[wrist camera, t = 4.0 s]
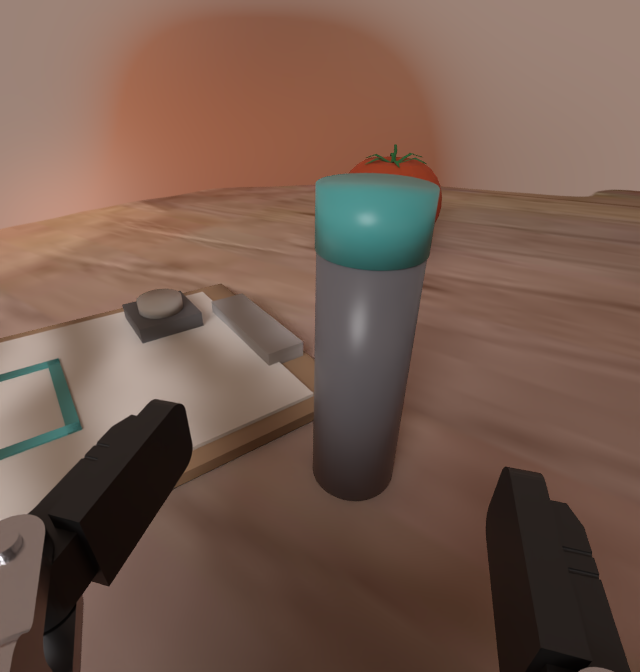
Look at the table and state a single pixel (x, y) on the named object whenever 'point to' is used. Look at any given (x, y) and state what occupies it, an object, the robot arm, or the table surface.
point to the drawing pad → (147, 384)
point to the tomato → (399, 169)
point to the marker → (365, 321)
